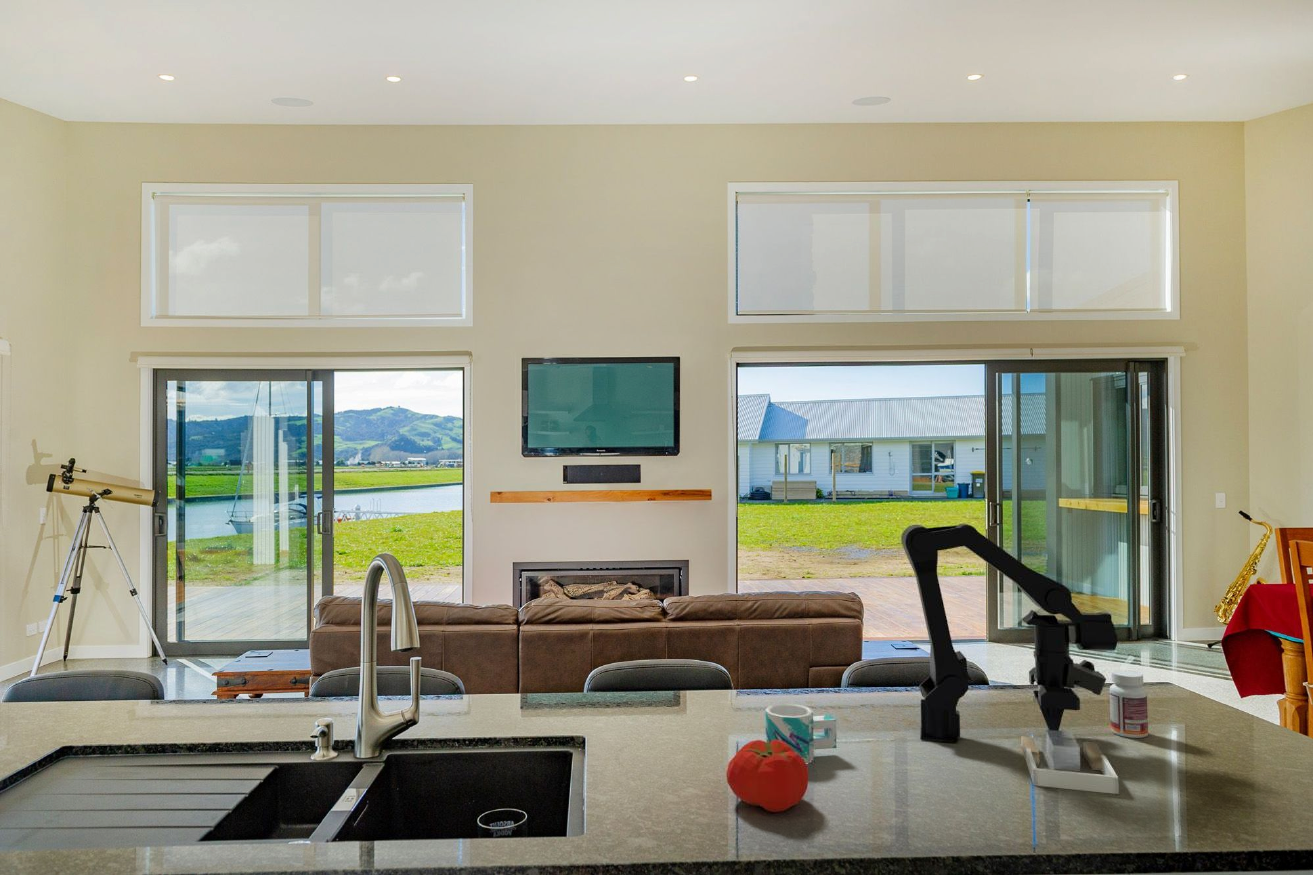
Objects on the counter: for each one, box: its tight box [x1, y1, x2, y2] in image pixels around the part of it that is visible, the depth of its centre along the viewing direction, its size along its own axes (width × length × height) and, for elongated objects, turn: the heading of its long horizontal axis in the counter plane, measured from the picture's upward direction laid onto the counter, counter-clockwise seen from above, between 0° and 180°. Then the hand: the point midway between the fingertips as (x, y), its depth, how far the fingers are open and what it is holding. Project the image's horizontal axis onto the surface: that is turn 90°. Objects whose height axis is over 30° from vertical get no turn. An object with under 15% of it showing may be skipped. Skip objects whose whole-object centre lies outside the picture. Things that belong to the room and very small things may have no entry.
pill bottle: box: [1109, 669, 1149, 739], centre depth 155 cm, size 6×6×11 cm
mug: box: [765, 703, 837, 764], centre depth 144 cm, size 8×12×8 cm
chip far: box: [1045, 729, 1076, 760], centre depth 143 cm, size 4×4×4 cm
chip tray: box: [1025, 748, 1120, 795], centre depth 134 cm, size 12×10×2 cm
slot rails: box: [1020, 735, 1103, 771], centre depth 142 cm, size 12×8×2 cm, turn 72°
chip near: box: [1049, 738, 1081, 773], centre depth 139 cm, size 4×4×4 cm
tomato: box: [725, 739, 809, 813], centre depth 125 cm, size 13×12×8 cm
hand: (1053, 735), depth 151 cm, fingers closed
